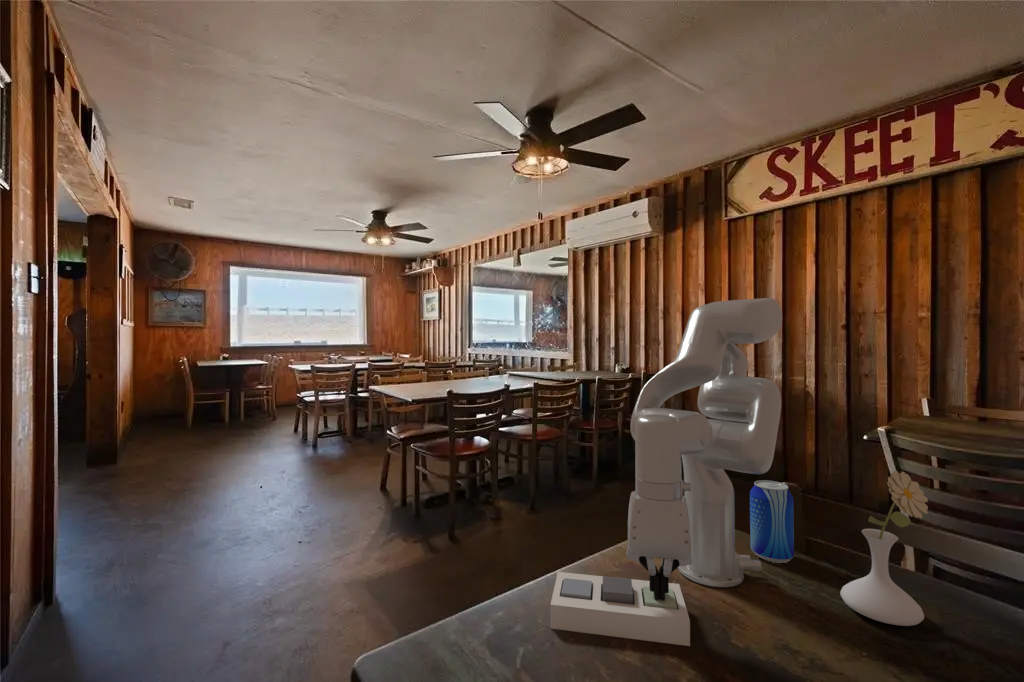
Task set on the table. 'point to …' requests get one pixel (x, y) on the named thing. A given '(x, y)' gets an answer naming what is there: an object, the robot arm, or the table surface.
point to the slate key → (577, 589)
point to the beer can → (772, 521)
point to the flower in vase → (877, 589)
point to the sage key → (650, 599)
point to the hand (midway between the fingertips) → (658, 595)
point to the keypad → (620, 614)
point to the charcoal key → (617, 590)
